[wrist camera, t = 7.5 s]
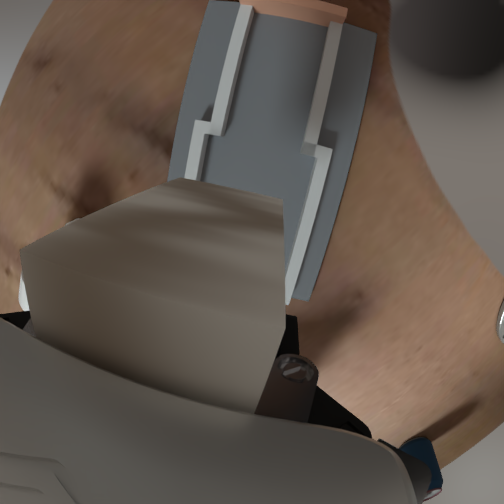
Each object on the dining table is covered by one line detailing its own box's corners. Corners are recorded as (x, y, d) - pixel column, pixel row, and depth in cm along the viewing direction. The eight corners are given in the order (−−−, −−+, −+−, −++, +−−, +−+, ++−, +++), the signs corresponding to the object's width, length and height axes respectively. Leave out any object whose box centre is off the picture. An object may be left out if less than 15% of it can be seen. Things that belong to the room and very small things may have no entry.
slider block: (282, 199, 12) (285, 328, 4) (244, 347, 15) (214, 505, 7) (180, 177, 12) (20, 250, 4) (163, 326, 15) (87, 463, 7)
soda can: (395, 443, 37) (407, 498, 26) (431, 430, 36) (448, 483, 25) (394, 458, 39) (404, 508, 28) (427, 446, 38) (441, 495, 27)
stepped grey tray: (373, 37, 19) (387, 22, 15) (307, 296, 28) (310, 318, 25) (211, 4, 19) (200, -14, 15) (161, 261, 29) (145, 278, 25)
